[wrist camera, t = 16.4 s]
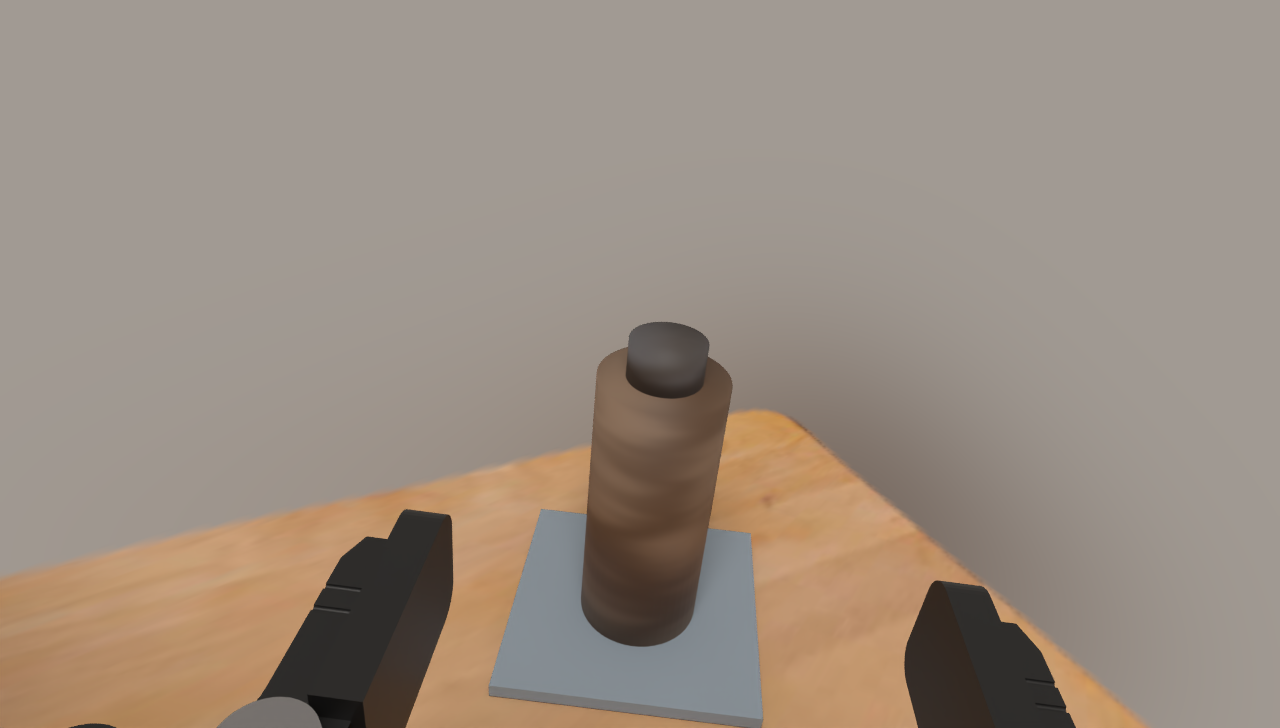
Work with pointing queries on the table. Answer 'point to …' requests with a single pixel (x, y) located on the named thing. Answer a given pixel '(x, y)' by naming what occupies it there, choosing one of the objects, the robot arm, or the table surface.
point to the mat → (628, 675)
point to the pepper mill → (652, 482)
